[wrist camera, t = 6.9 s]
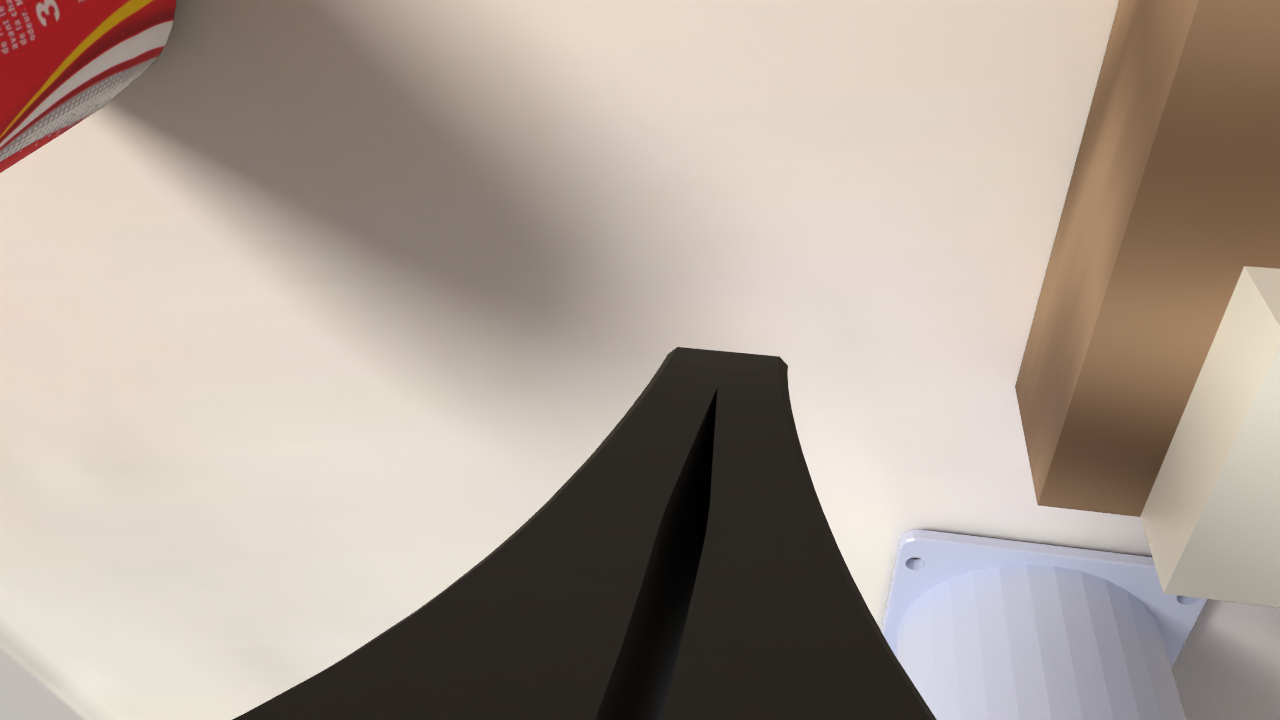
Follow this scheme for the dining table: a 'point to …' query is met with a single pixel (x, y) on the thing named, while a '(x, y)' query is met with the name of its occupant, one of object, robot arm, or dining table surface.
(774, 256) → the dining table surface
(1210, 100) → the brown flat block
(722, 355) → the robot arm
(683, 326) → the dining table surface
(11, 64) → the soda can
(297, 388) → the dining table surface
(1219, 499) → the off-white flat block
